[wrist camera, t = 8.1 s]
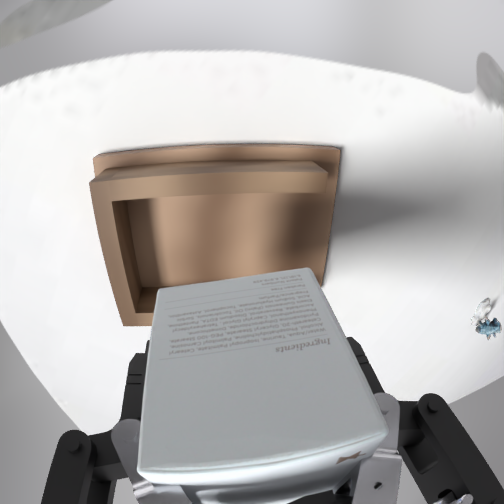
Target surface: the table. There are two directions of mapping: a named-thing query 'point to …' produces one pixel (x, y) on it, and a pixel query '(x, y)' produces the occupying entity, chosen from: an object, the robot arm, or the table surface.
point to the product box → (253, 392)
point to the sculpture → (487, 325)
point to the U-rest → (210, 216)
